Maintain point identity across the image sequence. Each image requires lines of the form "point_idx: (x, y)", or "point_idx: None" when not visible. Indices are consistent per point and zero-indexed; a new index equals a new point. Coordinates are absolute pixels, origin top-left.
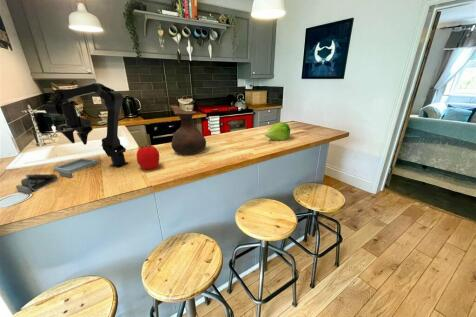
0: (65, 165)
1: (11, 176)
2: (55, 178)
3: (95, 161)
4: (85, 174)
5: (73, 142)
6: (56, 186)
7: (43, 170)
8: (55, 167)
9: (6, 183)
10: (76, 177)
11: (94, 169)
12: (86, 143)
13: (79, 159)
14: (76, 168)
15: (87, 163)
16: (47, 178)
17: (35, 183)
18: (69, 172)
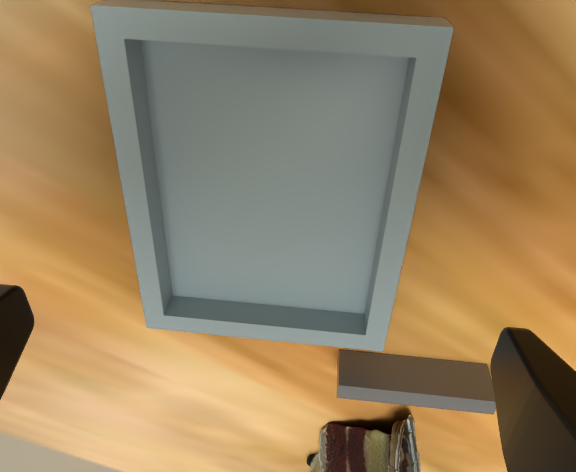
0: (159, 240)
1: (5, 414)
2: (395, 424)
3: (446, 55)
4: (565, 309)
5: (18, 322)
6: (499, 461)
7: (61, 318)
8: (164, 322)
9: (127, 468)
10: None
11: (571, 200)
12: (538, 344)
13: (118, 72)
14: (395, 287)
15: (407, 166)
16: (370, 458)
17: (309, 456)
18: (474, 400)
